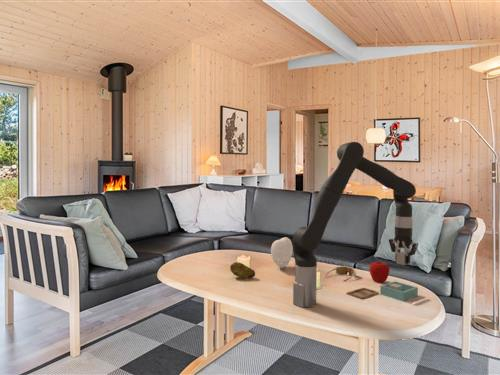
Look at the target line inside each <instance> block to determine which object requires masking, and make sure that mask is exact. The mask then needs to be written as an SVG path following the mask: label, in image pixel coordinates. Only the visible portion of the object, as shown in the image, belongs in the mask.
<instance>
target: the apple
mask: <svg viewBox="0 0 500 375" xmlns="http://www.w3.org/2000/svg"><path fill="white" fill-rule="evenodd" d="M369 274H370V276H371V279H372V280H373V281H374V282H375V283H381V284H382V283H384V282H386V281H387V280H388V277H389V274H390V266H389V265H388V264H387V263H385V262H381V261H374V262H371V263H370V266H369Z"/></svg>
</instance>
